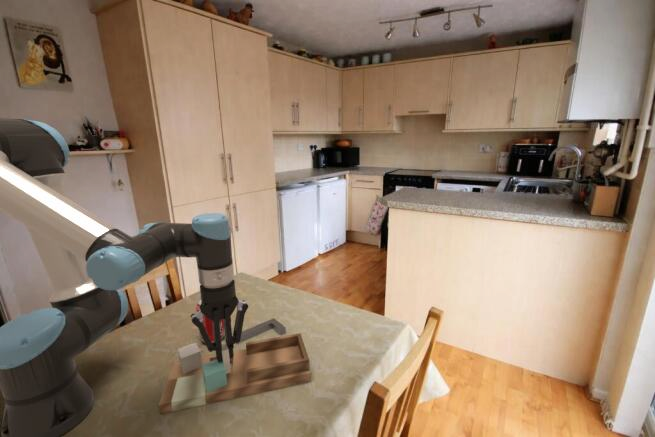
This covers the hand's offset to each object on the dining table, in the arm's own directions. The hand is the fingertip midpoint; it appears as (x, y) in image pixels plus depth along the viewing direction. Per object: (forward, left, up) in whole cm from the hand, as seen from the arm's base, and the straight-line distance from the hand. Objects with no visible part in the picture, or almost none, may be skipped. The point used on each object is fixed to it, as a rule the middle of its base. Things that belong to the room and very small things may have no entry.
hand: (226, 369), depth 76 cm
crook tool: (+9, +17, -4) cm, 20 cm away
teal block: (-3, -2, -1) cm, 4 cm away
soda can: (-5, +21, -4) cm, 22 cm away
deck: (+3, +2, -4) cm, 5 cm away
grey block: (-9, +6, -1) cm, 11 cm away
